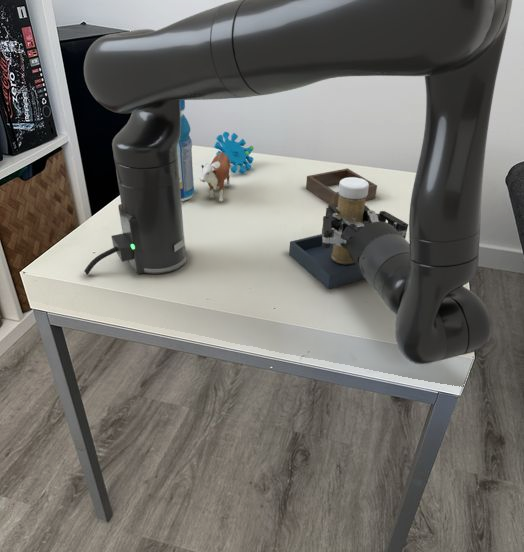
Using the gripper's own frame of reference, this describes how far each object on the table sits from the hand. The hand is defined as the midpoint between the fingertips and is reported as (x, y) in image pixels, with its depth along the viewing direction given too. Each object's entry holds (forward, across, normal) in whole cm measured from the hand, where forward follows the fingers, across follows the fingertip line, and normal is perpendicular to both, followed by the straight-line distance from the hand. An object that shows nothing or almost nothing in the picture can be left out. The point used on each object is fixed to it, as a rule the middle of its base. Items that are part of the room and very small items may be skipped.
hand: (343, 209), depth 86 cm
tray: (-3, 0, +8) cm, 9 cm away
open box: (+25, -9, +8) cm, 28 cm away
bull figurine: (+28, +17, +8) cm, 34 cm away
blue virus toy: (+42, +10, +8) cm, 44 cm away
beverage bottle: (+30, +25, +8) cm, 40 cm away
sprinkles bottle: (-3, 0, +8) cm, 8 cm away
